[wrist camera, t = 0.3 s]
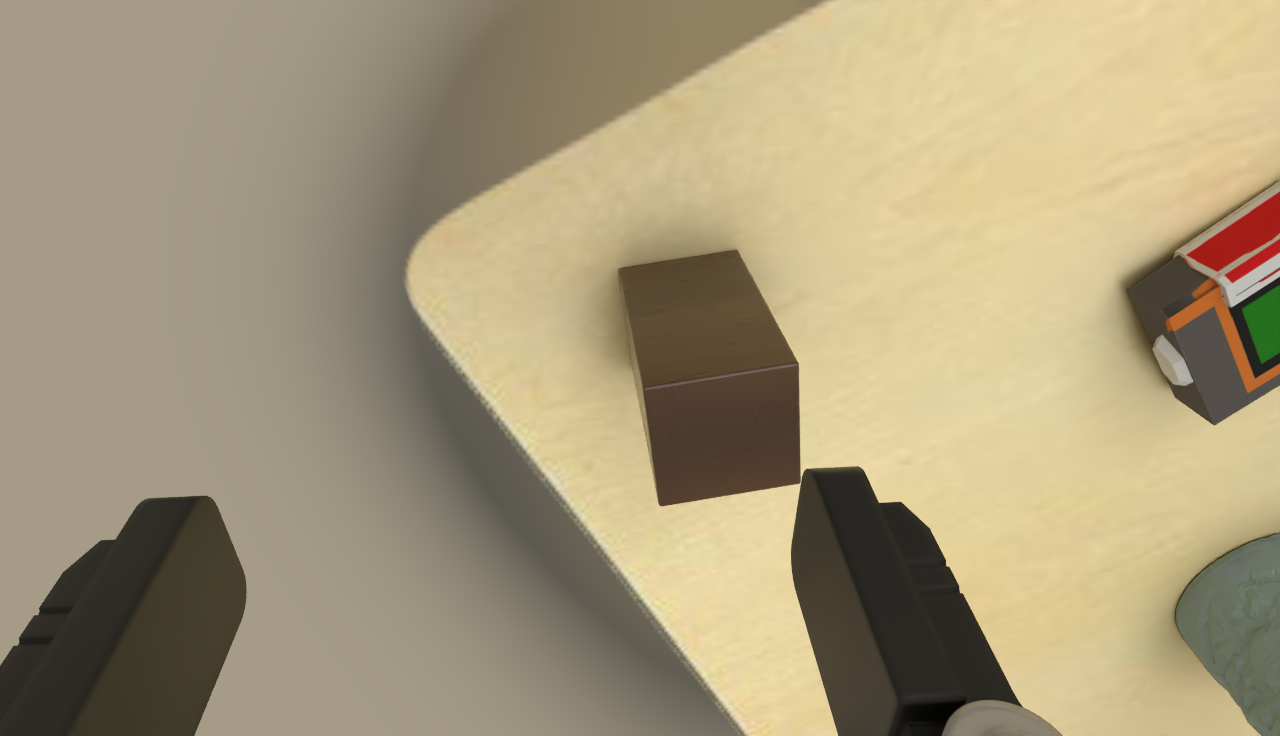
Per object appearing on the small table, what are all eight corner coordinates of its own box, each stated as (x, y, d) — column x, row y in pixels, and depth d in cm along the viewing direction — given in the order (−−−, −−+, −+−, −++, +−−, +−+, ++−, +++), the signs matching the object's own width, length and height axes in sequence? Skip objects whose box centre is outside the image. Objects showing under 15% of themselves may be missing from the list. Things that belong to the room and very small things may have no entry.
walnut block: (617, 267, 29) (642, 388, 22) (738, 249, 29) (799, 362, 22) (632, 370, 31) (659, 508, 24) (743, 352, 31) (801, 484, 24)
